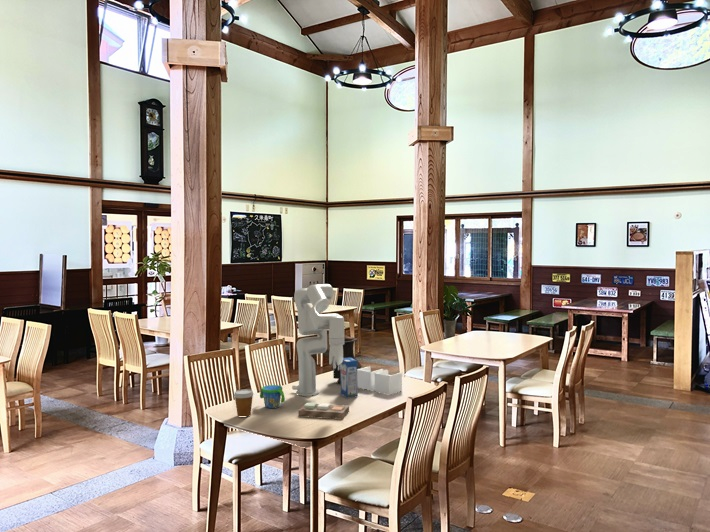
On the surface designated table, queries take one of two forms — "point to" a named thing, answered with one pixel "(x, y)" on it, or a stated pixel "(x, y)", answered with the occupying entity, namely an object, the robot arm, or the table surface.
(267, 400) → the snack cup
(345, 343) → the jug
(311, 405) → the sage button
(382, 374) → the storage container
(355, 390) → the milk carton
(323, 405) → the cream button
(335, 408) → the terracotta button
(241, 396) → the disposable coffee cup
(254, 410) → the table surface
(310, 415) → the tray
